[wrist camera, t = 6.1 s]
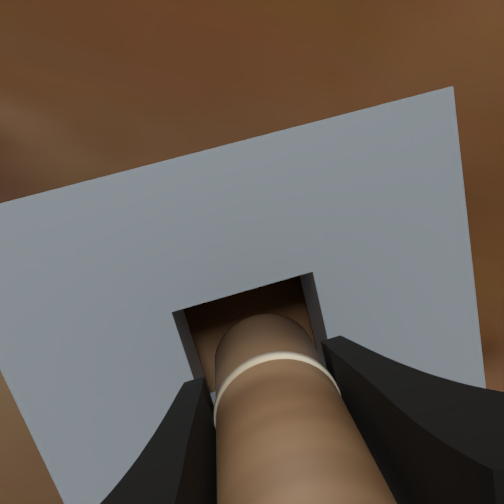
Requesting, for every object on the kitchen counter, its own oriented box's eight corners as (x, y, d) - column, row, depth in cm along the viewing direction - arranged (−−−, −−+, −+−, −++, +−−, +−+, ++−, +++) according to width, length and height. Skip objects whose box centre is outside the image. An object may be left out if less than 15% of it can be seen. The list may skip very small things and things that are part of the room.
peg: (326, 385, 13) (444, 623, 7) (232, 417, 13) (254, 690, 7) (299, 298, 12) (404, 473, 6) (198, 332, 12) (182, 551, 6)
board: (452, 410, 18) (492, 448, 15) (115, 519, 17) (100, 579, 14) (409, 99, 14) (452, 85, 12) (-21, 211, 13) (-71, 221, 11)
